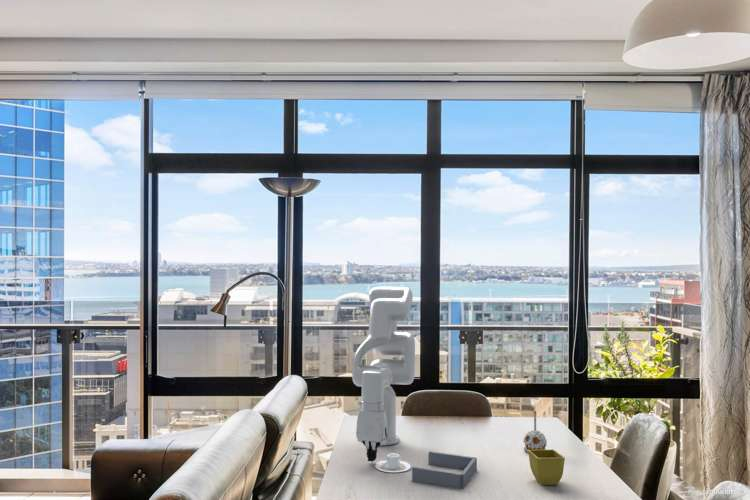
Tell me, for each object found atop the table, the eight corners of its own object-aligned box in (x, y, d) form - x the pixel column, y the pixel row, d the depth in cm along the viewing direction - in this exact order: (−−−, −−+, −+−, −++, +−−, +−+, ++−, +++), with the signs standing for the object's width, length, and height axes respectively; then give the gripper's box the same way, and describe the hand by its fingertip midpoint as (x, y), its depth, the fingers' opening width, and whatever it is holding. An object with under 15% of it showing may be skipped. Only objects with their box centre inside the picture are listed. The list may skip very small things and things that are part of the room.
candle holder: (380, 476, 180) (380, 462, 180) (370, 463, 192) (371, 451, 192) (415, 472, 183) (415, 459, 183) (404, 460, 195) (404, 448, 195)
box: (412, 480, 175) (412, 467, 175) (429, 462, 192) (429, 451, 192) (463, 488, 169) (463, 475, 169) (476, 469, 185) (476, 457, 185)
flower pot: (527, 477, 179) (527, 449, 179) (554, 477, 179) (553, 448, 180) (538, 488, 170) (537, 458, 170) (565, 487, 171) (565, 457, 171)
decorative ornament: (520, 452, 205) (520, 411, 205) (530, 447, 210) (530, 407, 211) (540, 457, 199) (540, 414, 200) (550, 452, 205) (549, 411, 206)
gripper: (348, 406, 191) (347, 460, 190) (388, 410, 185) (387, 467, 184) (357, 401, 198) (356, 454, 197) (396, 406, 192) (396, 460, 191)
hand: (371, 460), depth 190 cm, fingers closed
